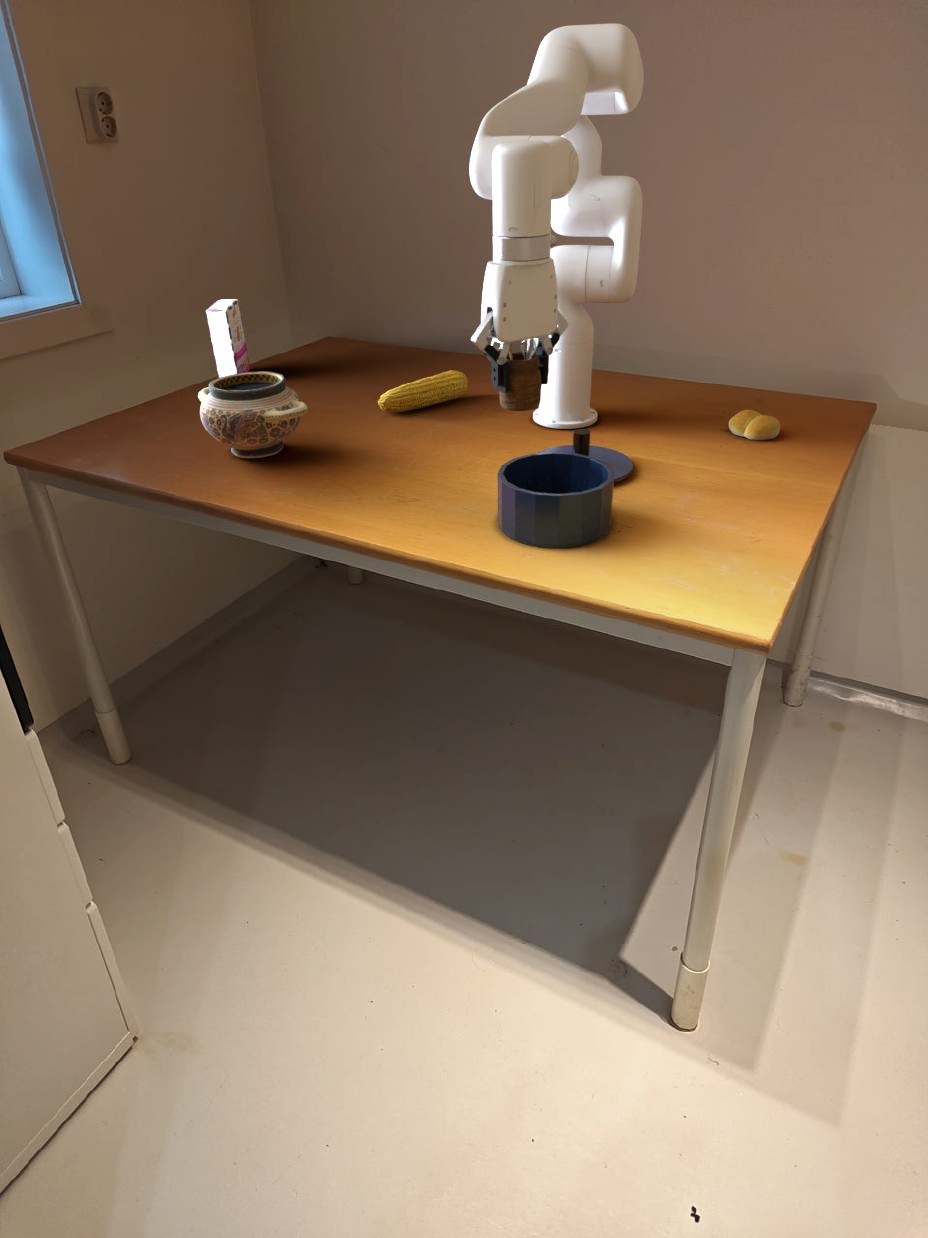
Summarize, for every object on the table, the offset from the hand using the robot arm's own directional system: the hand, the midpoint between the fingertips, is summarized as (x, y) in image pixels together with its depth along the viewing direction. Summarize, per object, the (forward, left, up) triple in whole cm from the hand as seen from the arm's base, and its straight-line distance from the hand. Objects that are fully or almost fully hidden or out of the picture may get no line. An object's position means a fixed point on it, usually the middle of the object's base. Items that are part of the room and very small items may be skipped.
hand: (520, 385), depth 119 cm
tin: (+6, +2, -20) cm, 21 cm away
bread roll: (-3, +55, -20) cm, 59 cm away
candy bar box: (-100, -11, -20) cm, 103 cm away
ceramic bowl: (-50, -24, -20) cm, 59 cm away
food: (-54, +14, -20) cm, 59 cm away
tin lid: (-8, +18, -19) cm, 27 cm away
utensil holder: (0, 0, -3) cm, 3 cm away
